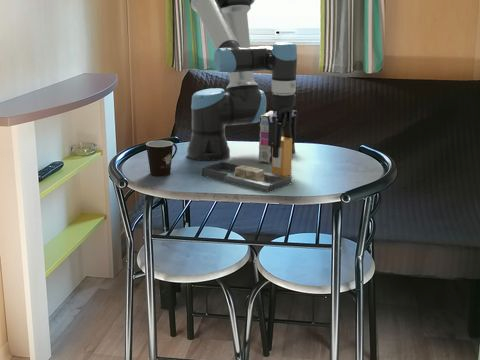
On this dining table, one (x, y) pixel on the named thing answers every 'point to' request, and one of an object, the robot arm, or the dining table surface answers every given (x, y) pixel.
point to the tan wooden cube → (255, 174)
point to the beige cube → (242, 170)
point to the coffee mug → (160, 157)
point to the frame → (218, 170)
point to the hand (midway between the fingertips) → (281, 165)
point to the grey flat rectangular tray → (258, 185)
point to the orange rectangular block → (284, 157)
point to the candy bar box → (265, 139)
